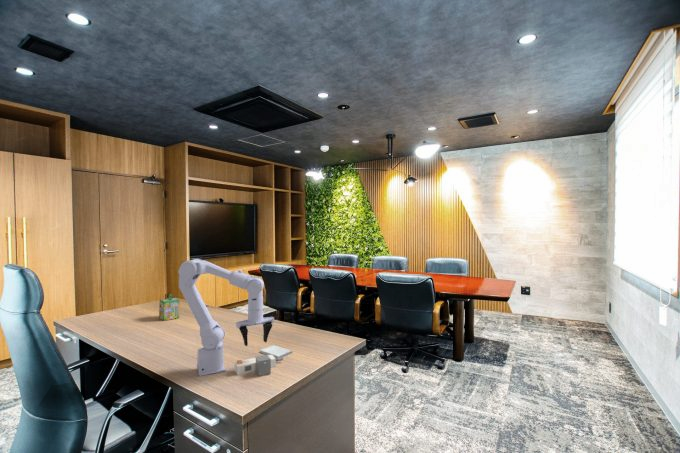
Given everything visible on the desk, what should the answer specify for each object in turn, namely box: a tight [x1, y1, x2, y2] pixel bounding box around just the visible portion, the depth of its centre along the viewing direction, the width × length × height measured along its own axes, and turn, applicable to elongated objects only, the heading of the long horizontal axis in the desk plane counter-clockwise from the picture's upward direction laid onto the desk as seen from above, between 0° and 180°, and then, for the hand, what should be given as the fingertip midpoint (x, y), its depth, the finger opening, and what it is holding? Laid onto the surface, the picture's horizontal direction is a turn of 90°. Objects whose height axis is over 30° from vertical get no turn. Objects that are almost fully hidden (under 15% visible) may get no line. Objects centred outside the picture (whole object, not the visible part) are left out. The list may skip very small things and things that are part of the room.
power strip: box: [233, 355, 284, 376], centre depth 130 cm, size 19×5×4 cm, turn 120°
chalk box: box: [158, 293, 180, 321], centre depth 201 cm, size 9×9×15 cm
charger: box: [255, 354, 272, 377], centre depth 126 cm, size 4×7×6 cm, turn 30°
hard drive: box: [259, 344, 294, 359], centre depth 146 cm, size 2×8×12 cm
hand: (255, 343), depth 129 cm, fingers open, 7 cm apart
